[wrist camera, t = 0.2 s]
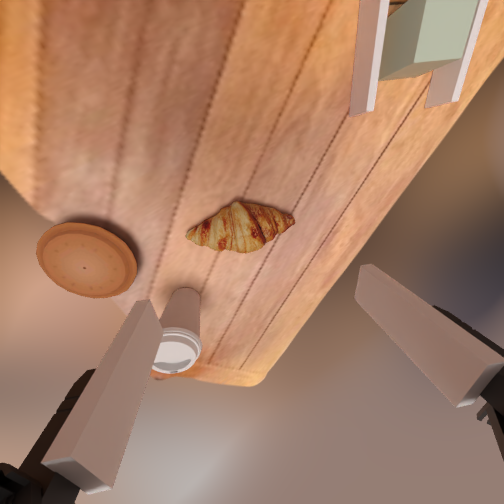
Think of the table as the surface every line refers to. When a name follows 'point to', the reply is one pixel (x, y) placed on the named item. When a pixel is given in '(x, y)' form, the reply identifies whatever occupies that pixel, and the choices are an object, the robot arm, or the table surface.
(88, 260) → the pie
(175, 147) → the table surface
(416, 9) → the block
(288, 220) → the croissant
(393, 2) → the drawer
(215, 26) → the table surface
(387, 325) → the robot arm
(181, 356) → the coffee cup
